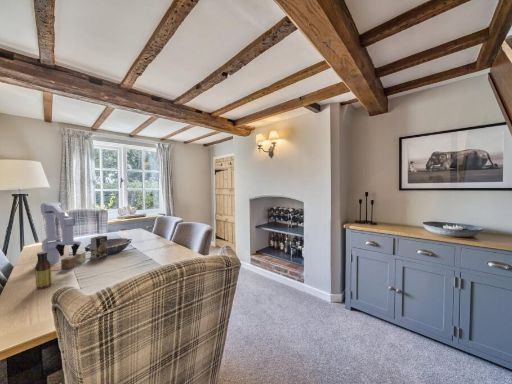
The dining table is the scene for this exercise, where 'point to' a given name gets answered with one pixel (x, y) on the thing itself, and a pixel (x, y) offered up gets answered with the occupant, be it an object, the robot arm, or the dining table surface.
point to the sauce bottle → (42, 271)
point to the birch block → (79, 257)
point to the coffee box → (98, 246)
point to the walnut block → (67, 263)
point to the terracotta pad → (55, 268)
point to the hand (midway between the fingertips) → (68, 255)
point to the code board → (72, 268)
